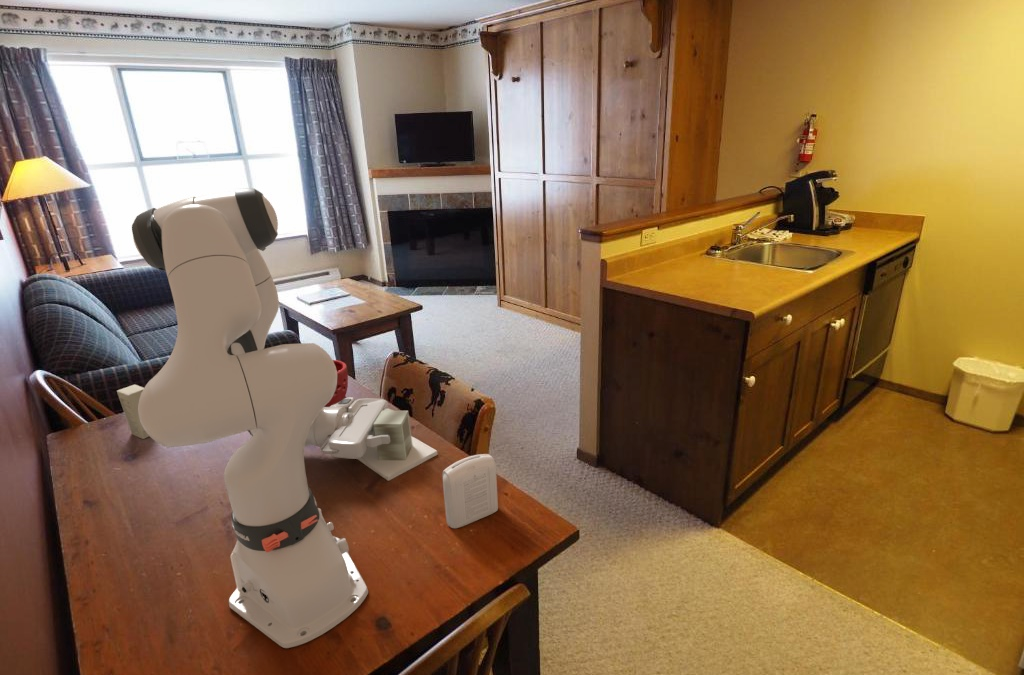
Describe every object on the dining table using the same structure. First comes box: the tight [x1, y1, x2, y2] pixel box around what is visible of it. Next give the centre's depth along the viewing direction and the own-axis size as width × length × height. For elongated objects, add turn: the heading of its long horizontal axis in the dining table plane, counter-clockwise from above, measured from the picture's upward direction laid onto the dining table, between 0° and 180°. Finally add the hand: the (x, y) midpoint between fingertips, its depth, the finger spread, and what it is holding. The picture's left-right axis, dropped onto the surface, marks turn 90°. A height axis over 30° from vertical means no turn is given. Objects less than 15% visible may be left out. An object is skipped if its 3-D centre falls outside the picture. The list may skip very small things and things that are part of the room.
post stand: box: [356, 435, 438, 482], centre depth 120 cm, size 13×13×8 cm
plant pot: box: [324, 359, 349, 407], centre depth 143 cm, size 13×13×12 cm
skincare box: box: [116, 384, 150, 440], centre depth 134 cm, size 6×4×12 cm
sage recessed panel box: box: [373, 410, 413, 460], centre depth 119 cm, size 6×6×9 cm
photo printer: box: [441, 453, 499, 529], centre depth 99 cm, size 10×4×12 cm, turn 122°
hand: (396, 427), depth 119 cm, fingers open, 8 cm apart
